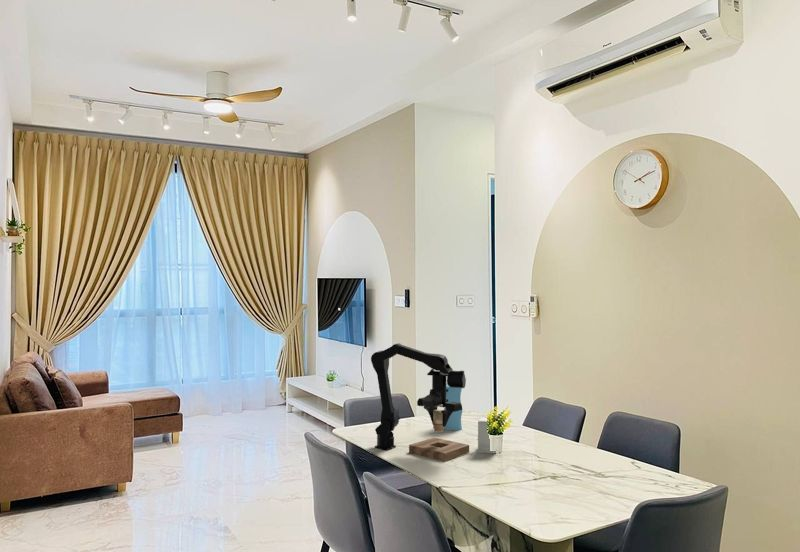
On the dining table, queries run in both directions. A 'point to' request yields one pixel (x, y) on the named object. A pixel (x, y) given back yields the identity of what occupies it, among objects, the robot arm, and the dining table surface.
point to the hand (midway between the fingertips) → (439, 425)
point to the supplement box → (483, 437)
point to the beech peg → (438, 421)
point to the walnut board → (439, 449)
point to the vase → (455, 417)
